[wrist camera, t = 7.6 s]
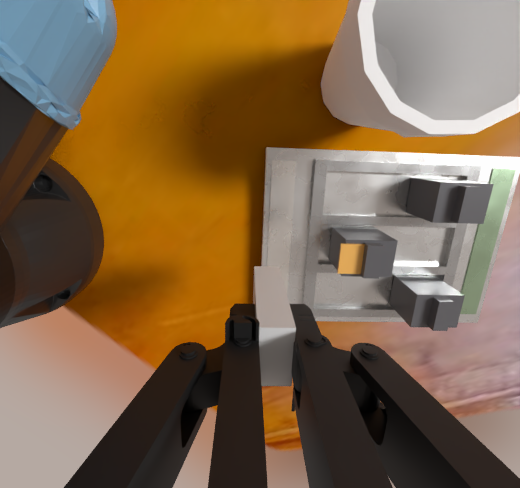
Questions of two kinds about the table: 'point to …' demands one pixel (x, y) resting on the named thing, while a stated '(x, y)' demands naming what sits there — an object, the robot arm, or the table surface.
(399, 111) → the foam cup
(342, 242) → the breaker
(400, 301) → the breaker
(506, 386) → the table surface
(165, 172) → the table surface
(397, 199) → the panel
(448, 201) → the block
